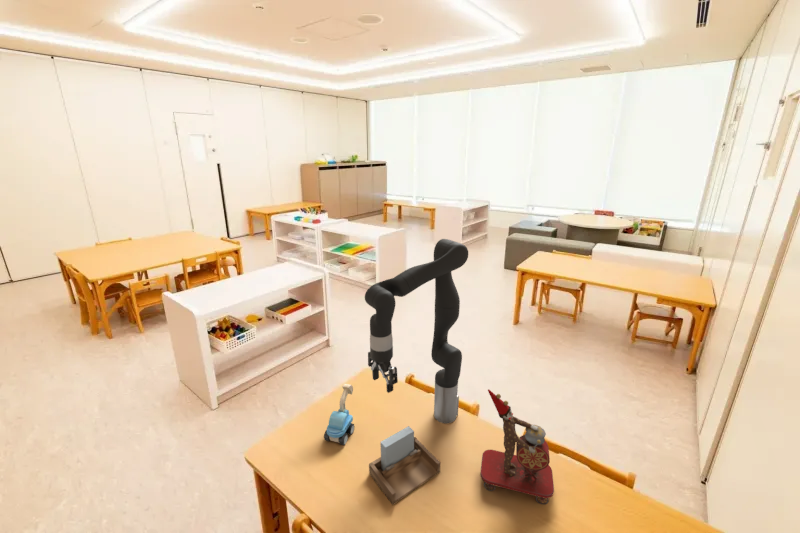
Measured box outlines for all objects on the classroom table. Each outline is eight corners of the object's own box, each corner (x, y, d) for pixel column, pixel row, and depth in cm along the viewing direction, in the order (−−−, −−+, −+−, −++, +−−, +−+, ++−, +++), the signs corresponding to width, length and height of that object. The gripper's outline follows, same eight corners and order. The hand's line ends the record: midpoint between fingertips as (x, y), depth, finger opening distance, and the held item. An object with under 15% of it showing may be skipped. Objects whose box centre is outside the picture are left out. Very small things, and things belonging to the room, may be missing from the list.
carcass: (414, 446, 135) (414, 435, 134) (439, 472, 125) (440, 461, 123) (369, 473, 124) (368, 462, 123) (392, 505, 114) (392, 493, 112)
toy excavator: (362, 418, 149) (360, 384, 143) (343, 449, 134) (340, 412, 129) (343, 413, 152) (341, 379, 146) (323, 443, 137) (319, 407, 131)
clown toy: (552, 509, 112) (569, 419, 100) (478, 490, 118) (486, 403, 107) (549, 474, 124) (564, 389, 112) (481, 458, 130) (489, 376, 119)
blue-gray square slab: (408, 452, 132) (408, 425, 128) (413, 457, 129) (414, 431, 125) (381, 468, 125) (380, 441, 121) (386, 475, 123) (385, 447, 119)
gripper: (403, 349, 116) (403, 391, 121) (378, 332, 126) (380, 371, 132) (384, 358, 111) (385, 400, 117) (360, 339, 122) (362, 379, 127)
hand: (382, 385), depth 124 cm, fingers open, 8 cm apart
